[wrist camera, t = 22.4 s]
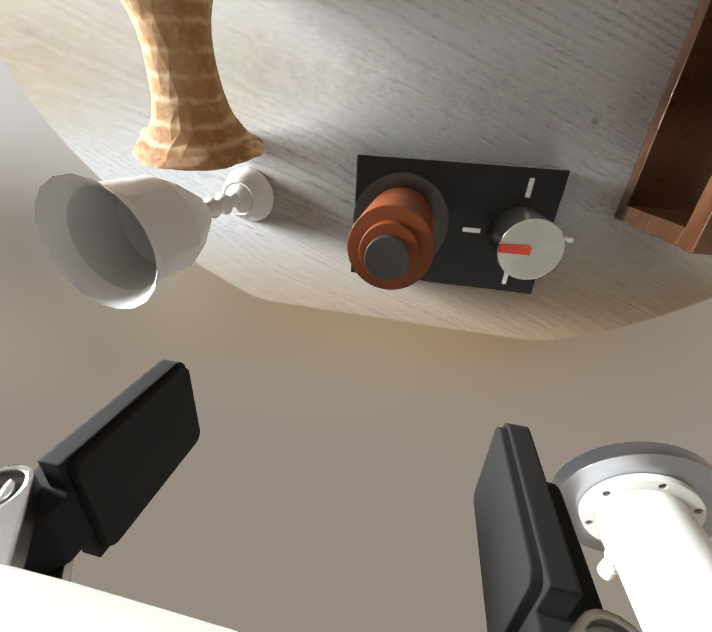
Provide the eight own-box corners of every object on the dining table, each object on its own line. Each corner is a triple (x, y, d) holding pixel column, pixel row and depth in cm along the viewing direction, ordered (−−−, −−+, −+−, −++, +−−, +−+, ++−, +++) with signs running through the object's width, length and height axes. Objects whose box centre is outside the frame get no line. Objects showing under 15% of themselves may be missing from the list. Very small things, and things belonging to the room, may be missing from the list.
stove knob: (553, 208, 27) (576, 222, 23) (537, 263, 29) (555, 284, 25) (494, 204, 28) (506, 217, 24) (483, 257, 30) (491, 278, 26)
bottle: (428, 258, 31) (426, 307, 22) (364, 250, 31) (338, 296, 23) (438, 190, 28) (442, 216, 19) (369, 184, 29) (342, 206, 20)
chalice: (203, 167, 34) (7, 196, 18) (264, 143, 32) (103, 153, 16) (236, 239, 37) (91, 319, 21) (293, 222, 35) (181, 295, 19)
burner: (439, 272, 31) (439, 273, 31) (351, 261, 32) (350, 262, 32) (457, 176, 28) (457, 176, 27) (356, 167, 29) (355, 168, 28)
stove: (543, 284, 33) (553, 297, 30) (356, 261, 35) (350, 272, 33) (581, 169, 28) (597, 172, 26) (363, 152, 31) (357, 154, 28)
